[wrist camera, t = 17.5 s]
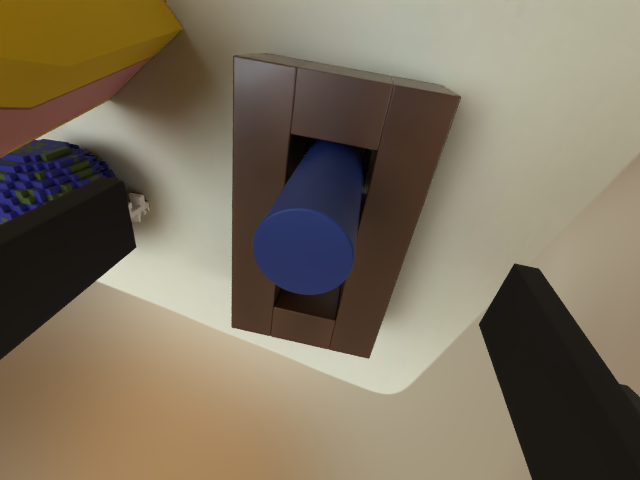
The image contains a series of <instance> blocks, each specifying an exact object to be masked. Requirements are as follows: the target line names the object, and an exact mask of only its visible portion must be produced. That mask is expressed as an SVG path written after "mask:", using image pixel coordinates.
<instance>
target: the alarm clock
mask: <svg viewBox="0 0 640 480" xmlns="http://www.w3.org/2000/svg"><path fill="white" fill-rule="evenodd" d="M182 29H183V27H182V26H181V24H180V23H179V22H178V20H177V19H176V17H175V16H174V14H173V13H172V11H171V10H170V8H169V7H168V5H167V4H166V2H165V1H164V0H0V158H1V157H3V156H5V155H7V154H8V153H10V152H12V151H14V150H16V149H18V148H20V147H22V146H23V145H25V144H27V143H29V142H31V141H33V140H35V139H37V138H38V137H40V136H42V135H44V134H46V133H48V132H50V131H52V130H54V129H55V128H57V127H59V126H61V125H63V124H65V123H67V122H69V121H70V120H72V119H74V118H76V117H78V116H80V115H82V114H84V113H86V112H87V111H89V110H91V109H93V108H95V107H97V106H99V105H101V104H102V103H104V102H106V101H108V100H109V99H110V98H111V97H112V96H113V95H114V94H115V93H117V92H118V91H119V90H120V89H121V88H122V87H123V86H124V85H125V84H126V83H127V82H128V81H129V80H130V79H131V78H132V77H133V76H134V75H135V74H136V73H137V72H138V71H139V70H140V69H141V68H143V67H144V66H145V65H146V64H147V63H148V62H149V61H150V60H151V59H152V58H153V57H154V56H155V55H156V54H157V53H158V52H159V51H160V50H161V49H162V48H163V47H164V46H165V45H166V44H167V43H169V42H170V41H171V40H172V39H173V38H174V37H175V36H176V35H177V34H178V33H179V32H180V31H181V30H182Z"/></svg>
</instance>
